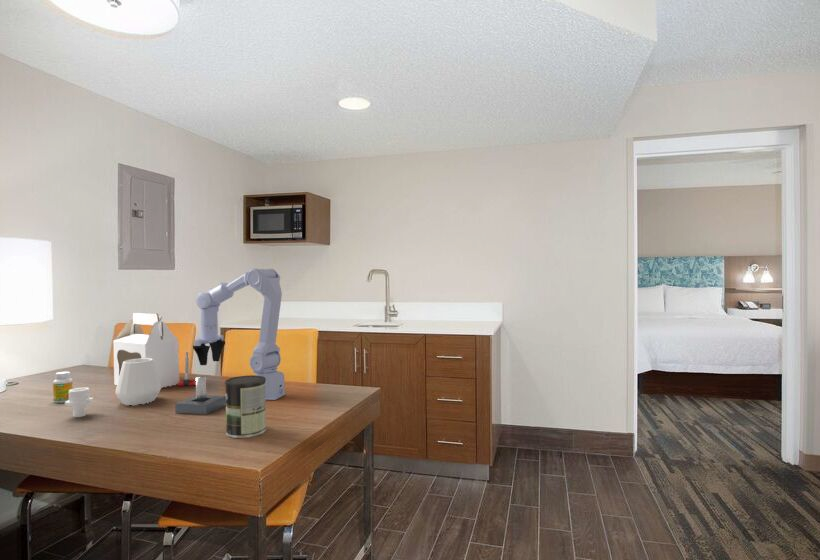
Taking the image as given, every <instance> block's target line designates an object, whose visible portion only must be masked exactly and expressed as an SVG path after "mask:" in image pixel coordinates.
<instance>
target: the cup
mask: <svg viewBox="0 0 820 560" xmlns="http://www.w3.org/2000/svg"><path fill="white" fill-rule="evenodd" d="M161 389H162V388H161V385H160V382H159V379H158V375H157V372H156V369H155V366H154V362H153V359H150V358H140V359H131V360H126V361H124V362H123V364H122V368H121V372H120V375H119V379H118V383H117V386H116V387H115V396H116V397H117V398H118V400H119V401H120V402H121V404H122V405H123V404H125V405H124V406H129V405H132V406H139V405H138V404H142V405H146V404H145V403H147V404H150V403H152V401H153V402H154V401H155V400H156V399H157V396H158V394H159V393H160V392H161ZM149 402H150V403H149Z"/></svg>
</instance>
